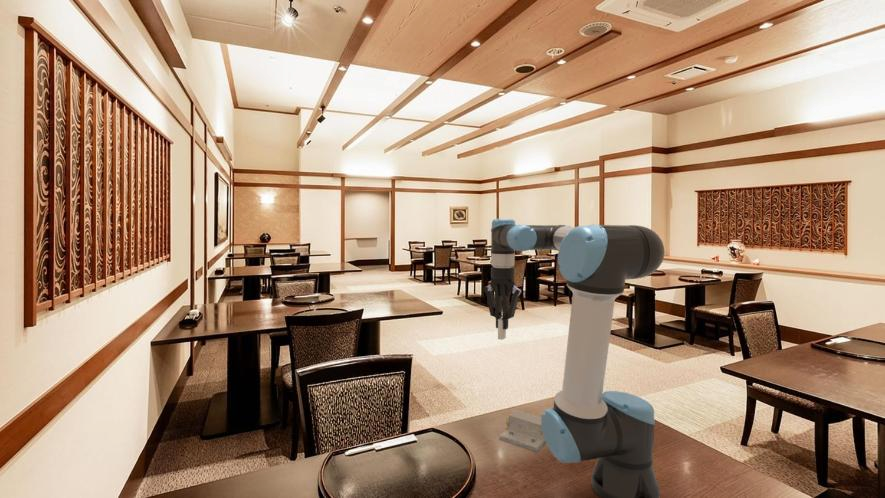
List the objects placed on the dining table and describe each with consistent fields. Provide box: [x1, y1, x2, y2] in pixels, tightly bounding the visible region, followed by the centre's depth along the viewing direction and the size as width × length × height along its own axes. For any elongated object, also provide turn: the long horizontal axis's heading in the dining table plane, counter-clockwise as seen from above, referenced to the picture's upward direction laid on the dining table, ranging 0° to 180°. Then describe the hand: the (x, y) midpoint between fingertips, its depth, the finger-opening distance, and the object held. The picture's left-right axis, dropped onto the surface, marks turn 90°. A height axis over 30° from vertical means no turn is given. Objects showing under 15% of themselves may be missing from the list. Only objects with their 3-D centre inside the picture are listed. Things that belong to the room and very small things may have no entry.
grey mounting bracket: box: [498, 409, 547, 453], centre depth 130 cm, size 12×17×5 cm
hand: (501, 338), depth 139 cm, fingers closed
